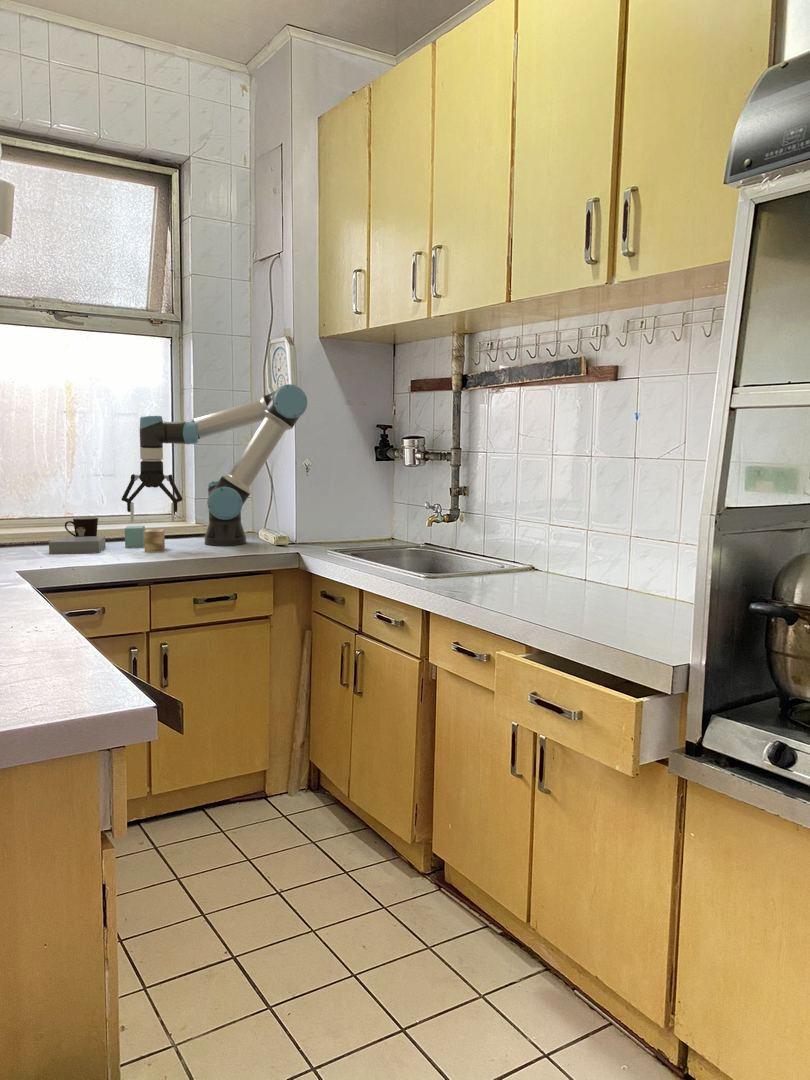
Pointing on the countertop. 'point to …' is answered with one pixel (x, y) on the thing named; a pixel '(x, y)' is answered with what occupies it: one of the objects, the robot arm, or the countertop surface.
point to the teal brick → (134, 536)
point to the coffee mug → (84, 526)
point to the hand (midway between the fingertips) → (152, 521)
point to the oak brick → (154, 540)
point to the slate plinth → (77, 545)
